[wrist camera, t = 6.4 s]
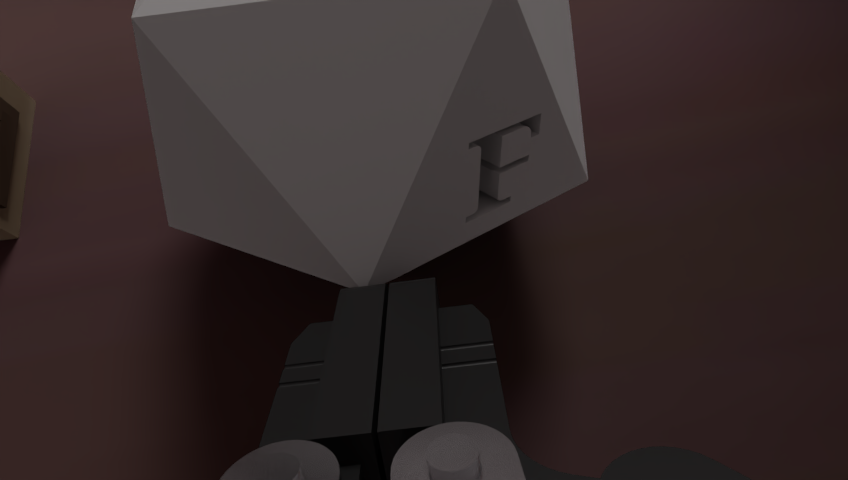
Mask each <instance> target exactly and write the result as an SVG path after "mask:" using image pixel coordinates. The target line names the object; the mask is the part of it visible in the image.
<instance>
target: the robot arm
mask: <svg viewBox="0 0 848 480" xmlns="http://www.w3.org/2000/svg"><path fill="white" fill-rule="evenodd" d="M220 480H751V479H750V478H748V477H746V476H744V475H742V474H740V473H738V472H736V471H734V470H732V469H730V468H728V467H726V466H725V465H723V464H721V463H719V462H717V461H715V460H713V459H711V458H709V457H706V456H704V455H702V454H699V453H696V452H693V451H690V450H685V449H681V448H675V447H648V448H641V449H637V450H634V451H630V452H628V453H626V454H624V455H622V456H620V457H618V458H617V459H615V460H614V461H613V462H612V463H611V464H610V465H609V466H608V467H607V468H606V469H605V471H604V472H603V474H602V476H601V479H600V478H593V477H586V476H579V475H572V474H567V473H562V472H558V471H555V470H552V469H549V468H547V467H545V466H543V465H540V464H538V463H537V462H535V461H534V460H532V459H530V458H529V457H528V456H527V455H525V454H524V453H523V452H522V451H521V450H520V449H519V447H518V446H517V445H516V444H515V442H514V440H513V438H512V436H511V432H510V429H509V423H508V418H507V413H506V408H505V402H504V397H503V392H502V386H501V381H500V376H499V370H498V365H497V361H496V355H495V349H494V345H493V339H492V333H491V328H490V323H489V320H488V319H487V318H486V317H485V316H484V315H483V314H482V313H481V312H480V311H479V310H478V309H477V308H476V307H475V306H474V305H473V304H469V305H461V306H452V307H444V308H440V304H439V297H438V290H437V284H436V279H435V277H434V278H426V279H418V280H410V281H401V282H393V283H390V284H389V288H388V285H387V284H378V285H370V286H361V287H353V288H345V289H341V290H340V292H339V296H338V301H337V305H336V310H335V314H334V319H333V321H328V322H320V323H311V324H309V325H308V327H307V328H306V329H305V330H304V331H303V332H302V333H301V334H300V335H299V336H298V337H297V338H296V339H295V340H294V341H293V342H292V343H291V346H290V349H289V353H288V356H287V359H286V362H285V369H283V372H282V375H281V378H280V381H279V388H277V391H276V394H275V397H274V400H273V404H272V407H271V410H270V413H269V416H268V420H267V423H266V426H265V429H264V432H263V436H262V439H261V442H260V445H259V448H258V449H256V450H254V451H252V452H250V453H249V454H247V455H245V456H244V457H242V458H241V459H239V460H238V461H237V462H236V463H234V464H233V465H232V466H231V467H230V468H229V469H228V470H227V471H226V472H225V473H224V475H223V476H222V477H221V478H220Z"/></svg>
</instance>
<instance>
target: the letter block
mask: <svg viewBox="0 0 848 480" xmlns="http://www.w3.org/2000/svg"><path fill="white" fill-rule="evenodd" d="M35 104H36V101H35V100H33V99H32V98H31V97H30V96H29V95H28V94H27V93H25V92H24V91H23V90H22V89H21V88H20V87H18V86H17V85H16V84H15V83H14V82H13V81H12V80H10V79H9V78H8V77H7V76H6V75H5V74H3V73H2V72H1V71H0V240H8V239H16V238H19V231H20V223H21V215H22V208H23V200H24V192H25V184H26V176H27V168H28V160H29V152H30V144H31V136H32V128H33V120H34V112H35Z"/></svg>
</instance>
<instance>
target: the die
mask: <svg viewBox="0 0 848 480" xmlns="http://www.w3.org/2000/svg"><path fill="white" fill-rule="evenodd" d="M131 18H132V24H133V30H134V35H135V41H136V46H137V52H138V57H139V63H140V69H141V74H142V80H143V85H144V91H145V96H146V102H147V108H148V113H149V119H150V124H151V130H152V135H153V141H154V146H155V152H156V158H157V163H158V169H159V174H160V180H161V185H162V191H163V197H164V202H165V208H166V213H167V219H168V224H169V226H170V227H173V228H176V229H179V230H182V231H185V232H188V233H191V234H194V235H197V236H199V237H202V238H205V239H208V240H211V241H214V242H217V243H220V244H223V245H226V246H229V247H232V248H234V249H237V250H240V251H243V252H246V253H249V254H252V255H255V256H258V257H261V258H264V259H267V260H269V261H272V262H275V263H278V264H281V265H284V266H287V267H290V268H293V269H296V270H299V271H301V272H304V273H307V274H310V275H313V276H316V277H319V278H322V279H325V280H328V281H331V282H334V283H336V284H339V285H342V286H345V287H348V288H353V287H361V286H370V285H378V284H385V283H387V282H389V281H391V280H393V279H395V278H397V277H399V276H401V275H403V274H405V273H407V272H409V271H411V270H413V269H415V268H417V267H419V266H421V265H423V264H425V263H427V262H429V261H431V260H433V259H435V258H437V257H439V256H441V255H443V254H445V253H447V252H448V251H450V250H452V249H454V248H456V247H458V246H460V245H462V244H464V243H466V242H468V241H470V240H472V239H474V238H476V237H478V236H480V235H482V234H484V233H486V232H488V231H490V230H492V229H494V228H496V227H498V226H500V225H502V224H503V223H505V222H507V221H509V220H511V219H513V218H515V217H517V216H519V215H521V214H523V213H525V212H527V211H529V210H531V209H533V208H535V207H537V206H539V205H541V204H543V203H545V202H547V201H549V200H551V199H553V198H555V197H557V196H558V195H560V194H562V193H564V192H566V191H568V190H570V189H572V188H574V187H576V186H578V185H580V184H582V183H584V182H586V181H588V173H587V164H586V155H585V146H584V137H583V127H582V118H581V109H580V100H579V91H578V81H577V72H576V63H575V54H574V45H573V36H572V26H571V17H570V8H569V0H136V3H135V6H134V10H133V14H132V17H131Z"/></svg>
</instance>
